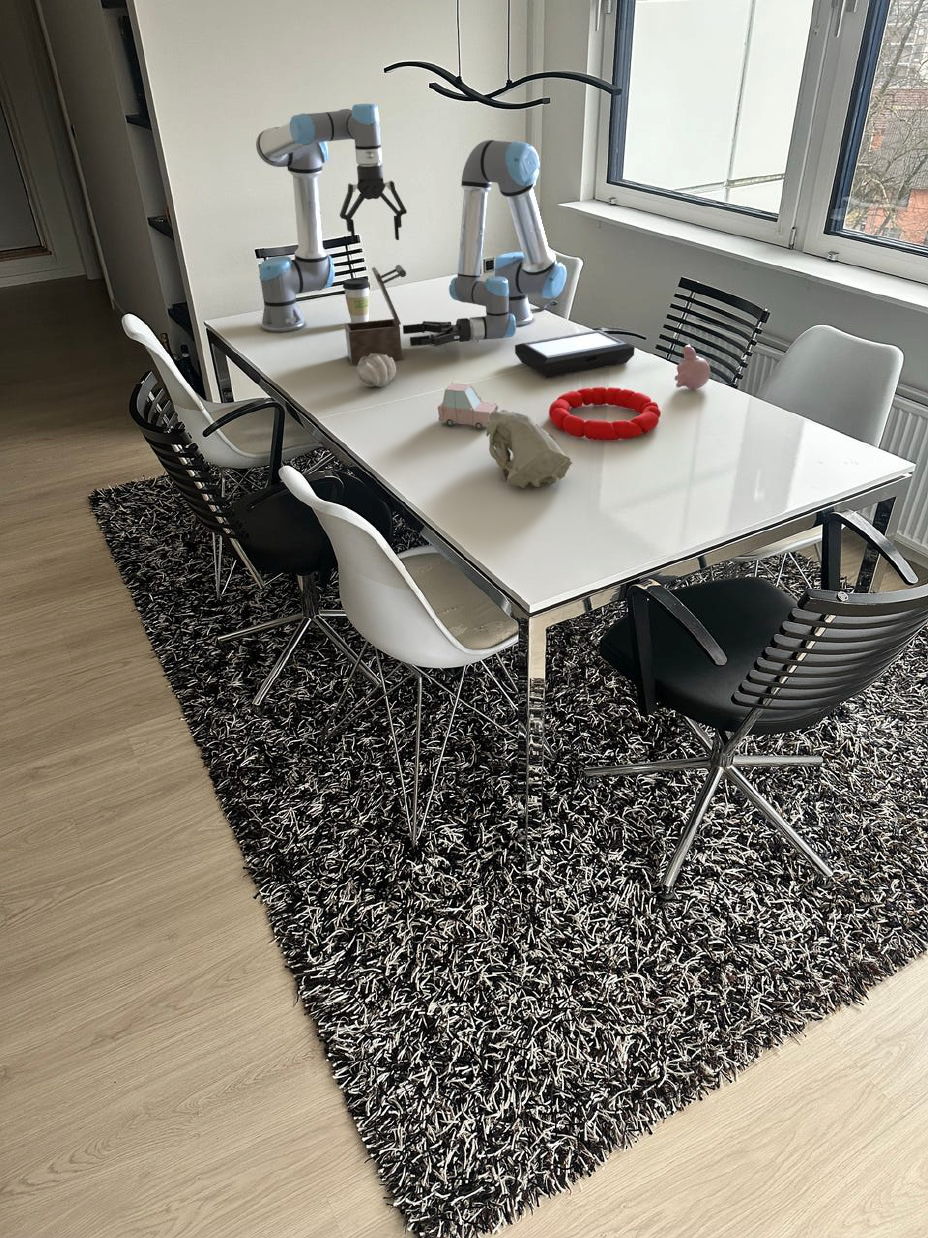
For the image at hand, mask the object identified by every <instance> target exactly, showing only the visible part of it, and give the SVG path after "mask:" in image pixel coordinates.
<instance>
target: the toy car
mask: <svg viewBox="0 0 928 1238" xmlns="http://www.w3.org/2000/svg"><path fill="white" fill-rule="evenodd" d="M498 409H499V404H498V403H497V402H490V401H489V402H487V401H483V397H481V396H480V395H479V394H478V393H477V391H476V390H475V389H474V386H472V384H469V383H459V382H451V383H450V384H449V385H448V386H447V387H446V388H445V389H444V394H443V399H442V403H440V404H439V405H438V406H437V413H438V421H439V422H443V423H446V425H447V426H448V427H452V426H454V425H455V424H461V425H469V426H473V427H475V429H476V430H479V431H480V430H481V429H483V428H485V427H486V428H487V423H488V422H490V414H491V413H492V412H496V411H499V410H498Z"/></svg>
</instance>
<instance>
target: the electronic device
mask: <svg viewBox="0 0 928 1238" xmlns="http://www.w3.org/2000/svg"><path fill="white" fill-rule="evenodd" d="M635 349H636V347H635V346H633V345H632V344H630V343H628V342H625V341H623V340H621V339H619V338H618V337H615V335H611V333H610V334H609V333H608V332H605V330H602V329H597V330H596V329H595V330H590V331H585V332H580V333H574V334H568V335H567V334H566V335H562V336H556V337H551V338H550V337H549V338H546V339H539V340H533V341H528V342H527V341H526V342H521V343H518V344H515V345H514V354H515V355H516V357H517V358H518V360H519V361H520V362H521V363H522V364H524V365H525V366H527V367H528V368H530V369H532V370H533V371H535V372H537V373H538V374H540V375H541V376H543V377H545V378H546V379H548V378H553V377H558V376H559V377H560V376H563V375H569V374H574V373H575V374H576V373H581V372H585V371H592V370H596V369H602V368H607V367H613V366H619V365H624V364H627V363H628V362H629V361H630V360H631V359H632V358H633V357H634V356H635Z"/></svg>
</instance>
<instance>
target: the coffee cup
mask: <svg viewBox="0 0 928 1238" xmlns="http://www.w3.org/2000/svg"><path fill="white" fill-rule="evenodd" d="M370 287H371V283H370V282H369V279H367V278H365V277H351V278H347V279H345V280H344V281H343V285H342V288H343V290H344V297H345V301H346V305H347V310H348V314H349V318H350V323H357V322H367V321H369V317H370V316H369V313H370Z"/></svg>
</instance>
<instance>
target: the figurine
mask: <svg viewBox="0 0 928 1238" xmlns="http://www.w3.org/2000/svg"><path fill="white" fill-rule="evenodd" d="M682 354H683V358H684V359H683V361H682V362H679V363H678V364H677V365H676V372H677V375H675V376H674V381H675V382H676V381H677V382H676V384H675V386H676V388H681V387H686V388H688V389H693V390H694V389H695V390H696V389H700V388H703V387H704V386H705V385H706V384H707V383H708V382H709V379H710V377H711V367H710V364H709V362H708V361H706V359H704V358H702V357H700V356H697V353H696V350H695V349H694V347H692V345H690V344H686V345H685V346H684V347H683V348H682Z"/></svg>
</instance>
